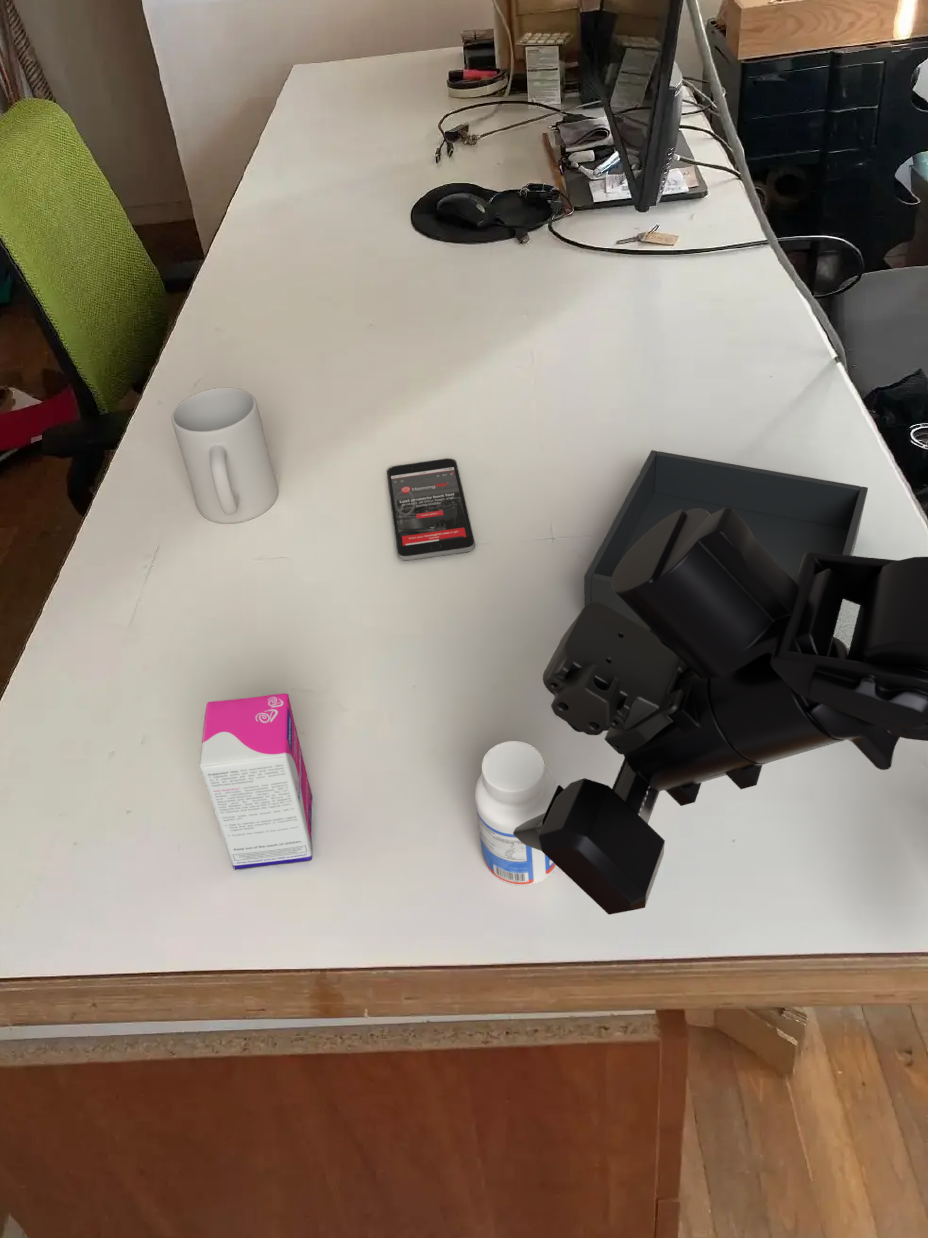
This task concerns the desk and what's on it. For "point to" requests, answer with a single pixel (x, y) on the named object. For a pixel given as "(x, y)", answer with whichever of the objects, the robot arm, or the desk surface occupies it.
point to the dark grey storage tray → (765, 500)
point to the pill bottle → (513, 811)
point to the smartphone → (429, 510)
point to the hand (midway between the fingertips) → (546, 778)
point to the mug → (225, 454)
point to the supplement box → (257, 780)
